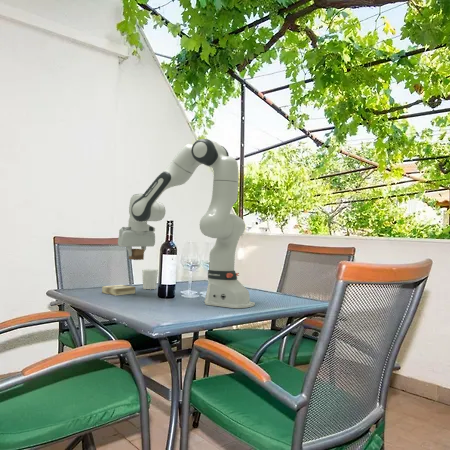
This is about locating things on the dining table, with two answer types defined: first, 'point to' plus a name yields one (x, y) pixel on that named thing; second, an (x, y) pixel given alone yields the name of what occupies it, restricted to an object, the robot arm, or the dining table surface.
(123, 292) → the birch plinth
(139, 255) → the walnut cube
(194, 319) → the dining table surface
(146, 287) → the white cup
